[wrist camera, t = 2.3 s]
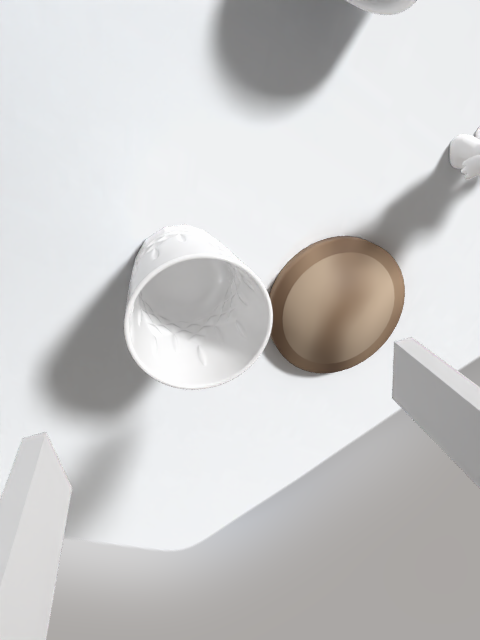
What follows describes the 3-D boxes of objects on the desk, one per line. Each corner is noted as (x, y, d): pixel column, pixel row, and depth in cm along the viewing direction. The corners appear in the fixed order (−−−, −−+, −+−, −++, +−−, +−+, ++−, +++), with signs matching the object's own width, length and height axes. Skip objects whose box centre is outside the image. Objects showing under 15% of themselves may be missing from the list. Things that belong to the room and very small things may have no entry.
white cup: (245, 295, 32) (288, 357, 23) (152, 332, 32) (160, 410, 23) (212, 199, 28) (249, 230, 20) (106, 239, 28) (95, 290, 19)
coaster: (273, 380, 36) (278, 388, 35) (258, 253, 31) (262, 257, 30) (394, 348, 38) (402, 354, 37) (399, 222, 33) (408, 226, 32)
